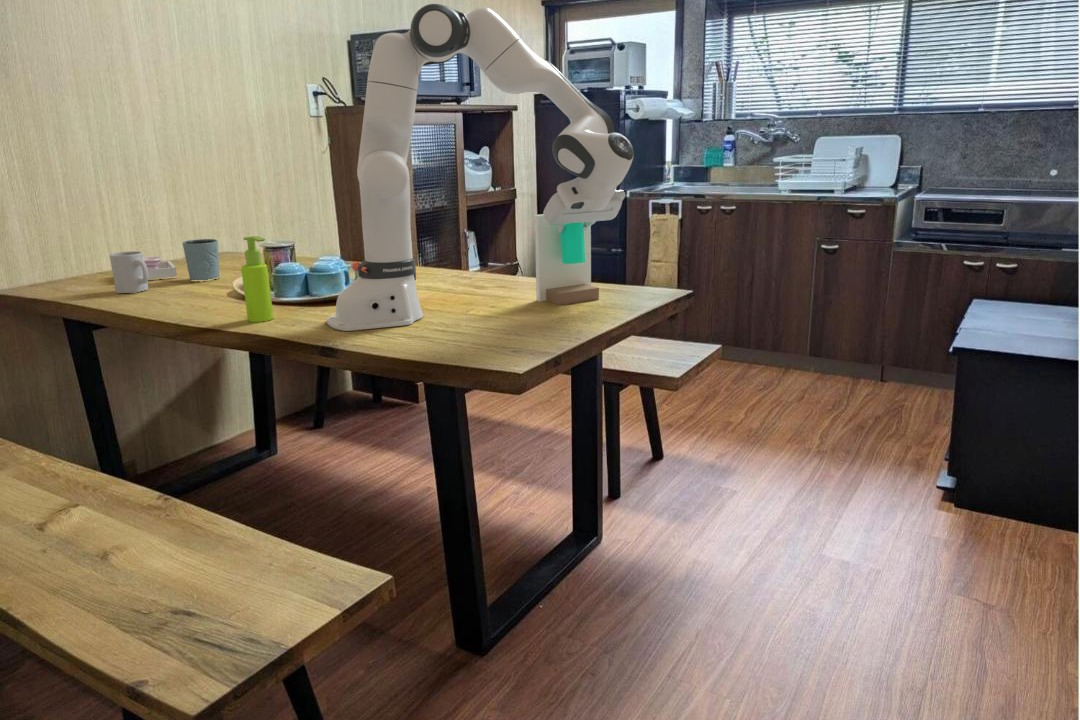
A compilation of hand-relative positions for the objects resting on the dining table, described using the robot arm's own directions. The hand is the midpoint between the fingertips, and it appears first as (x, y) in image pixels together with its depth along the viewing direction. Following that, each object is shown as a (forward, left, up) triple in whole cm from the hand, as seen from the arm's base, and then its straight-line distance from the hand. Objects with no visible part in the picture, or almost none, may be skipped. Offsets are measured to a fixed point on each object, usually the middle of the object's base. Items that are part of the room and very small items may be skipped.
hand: (571, 229), depth 198 cm
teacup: (-90, +108, -19) cm, 142 cm away
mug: (-96, +84, -18) cm, 129 cm away
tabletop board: (0, +1, -18) cm, 18 cm away
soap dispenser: (-73, +25, -18) cm, 79 cm away
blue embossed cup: (-76, +92, -18) cm, 121 cm away
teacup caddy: (-91, +108, -18) cm, 142 cm away
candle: (0, -1, -8) cm, 9 cm away
